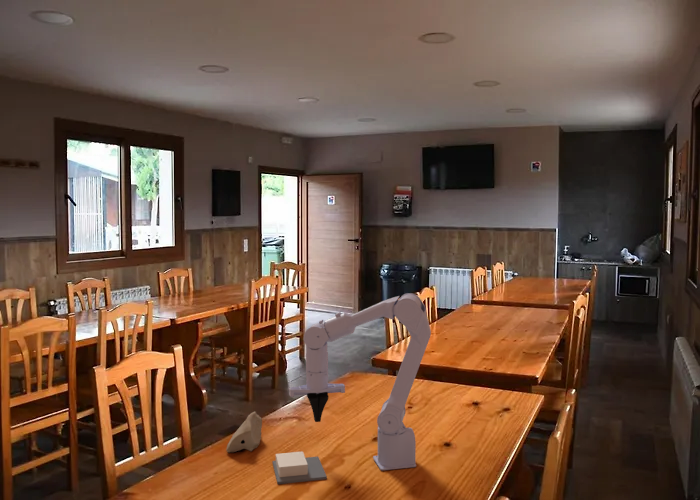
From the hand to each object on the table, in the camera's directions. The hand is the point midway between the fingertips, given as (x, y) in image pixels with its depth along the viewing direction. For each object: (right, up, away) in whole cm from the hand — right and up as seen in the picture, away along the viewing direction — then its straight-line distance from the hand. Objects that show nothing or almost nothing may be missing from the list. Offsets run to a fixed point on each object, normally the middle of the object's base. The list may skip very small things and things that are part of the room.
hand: (317, 420), depth 157 cm
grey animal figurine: (-21, -10, +9) cm, 25 cm away
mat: (-4, -11, -7) cm, 14 cm away
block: (-3, -9, -7) cm, 11 cm away
